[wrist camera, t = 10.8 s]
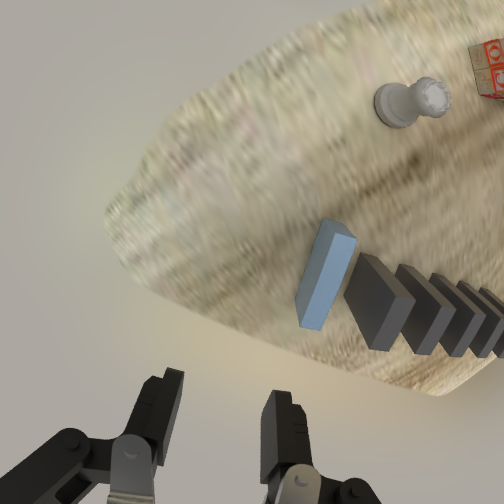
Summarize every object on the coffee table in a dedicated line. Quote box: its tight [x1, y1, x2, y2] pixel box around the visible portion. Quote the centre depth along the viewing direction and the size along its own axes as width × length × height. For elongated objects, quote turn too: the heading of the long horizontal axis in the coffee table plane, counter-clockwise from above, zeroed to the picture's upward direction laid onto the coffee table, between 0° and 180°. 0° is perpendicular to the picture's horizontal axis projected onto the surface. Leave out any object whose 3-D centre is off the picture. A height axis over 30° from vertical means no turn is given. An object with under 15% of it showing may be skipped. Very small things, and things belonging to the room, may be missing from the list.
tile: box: [295, 218, 358, 331], centre depth 26 cm, size 2×5×9 cm
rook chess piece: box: [375, 77, 451, 128], centre depth 18 cm, size 4×4×8 cm
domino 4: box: [457, 281, 504, 358], centre depth 25 cm, size 2×5×9 cm, turn 166°
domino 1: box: [344, 253, 416, 352], centre depth 24 cm, size 2×5×9 cm, turn 166°
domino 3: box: [429, 273, 486, 357], centre depth 24 cm, size 2×5×9 cm, turn 166°
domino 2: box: [395, 264, 456, 355], centre depth 24 cm, size 2×5×9 cm, turn 167°
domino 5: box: [479, 288, 504, 358], centre depth 25 cm, size 2×5×9 cm, turn 167°
